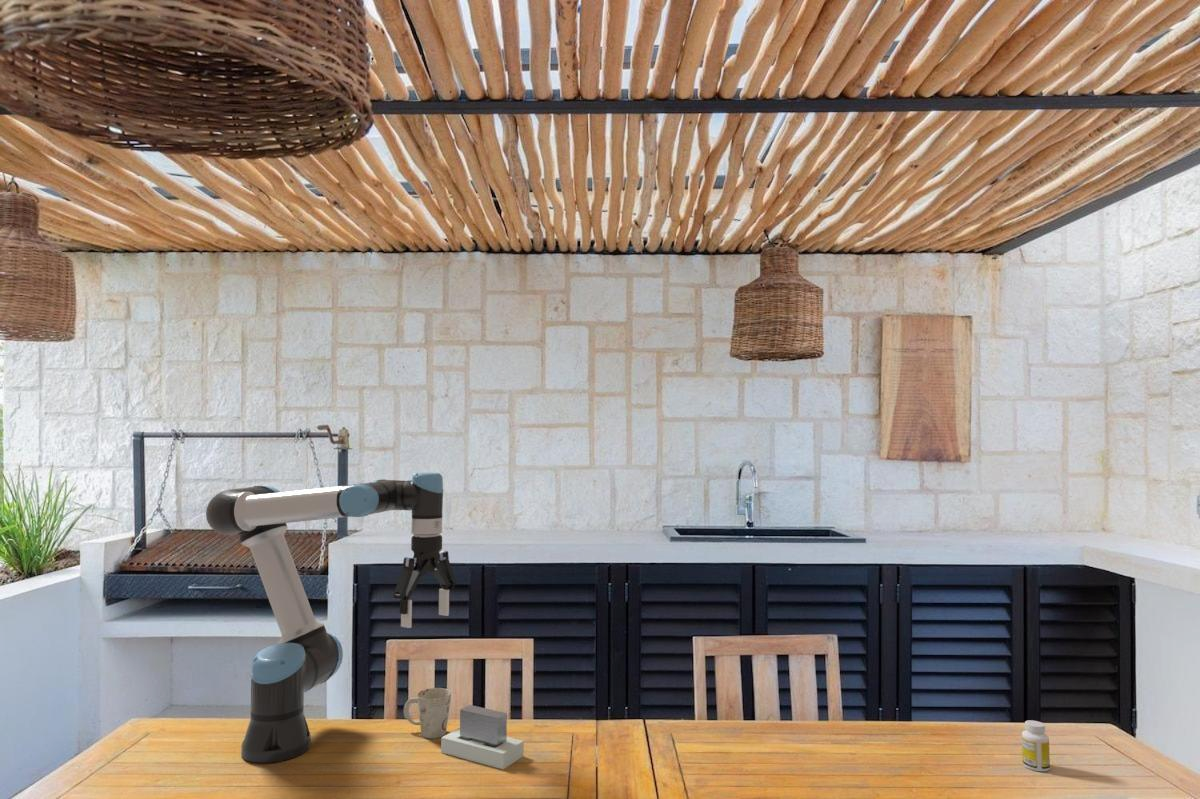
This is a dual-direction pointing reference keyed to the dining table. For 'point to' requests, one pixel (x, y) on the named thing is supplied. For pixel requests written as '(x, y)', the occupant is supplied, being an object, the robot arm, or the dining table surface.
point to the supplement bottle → (1035, 746)
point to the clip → (483, 725)
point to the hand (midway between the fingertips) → (425, 621)
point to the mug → (431, 711)
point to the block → (482, 750)
